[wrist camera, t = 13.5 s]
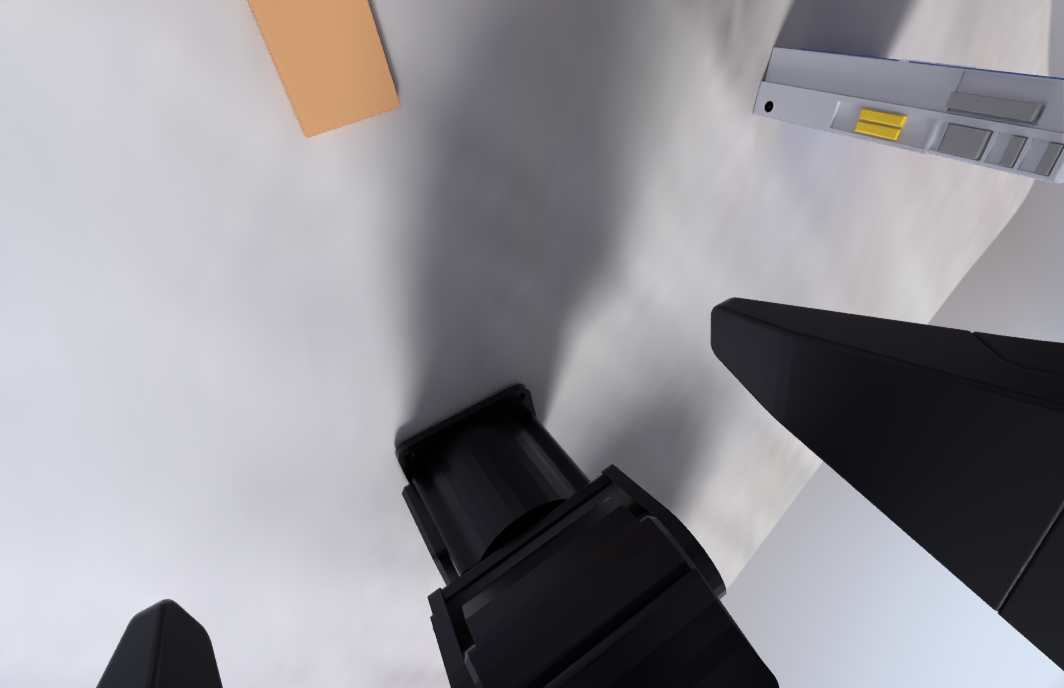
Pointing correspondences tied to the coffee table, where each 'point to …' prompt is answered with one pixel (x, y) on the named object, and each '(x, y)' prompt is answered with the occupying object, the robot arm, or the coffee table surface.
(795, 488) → the coffee table surface
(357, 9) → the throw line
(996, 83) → the walkman
